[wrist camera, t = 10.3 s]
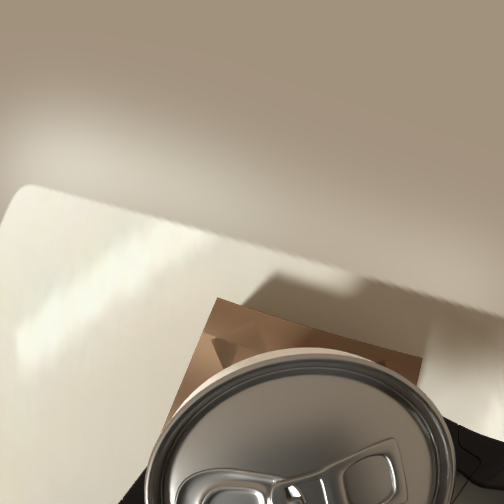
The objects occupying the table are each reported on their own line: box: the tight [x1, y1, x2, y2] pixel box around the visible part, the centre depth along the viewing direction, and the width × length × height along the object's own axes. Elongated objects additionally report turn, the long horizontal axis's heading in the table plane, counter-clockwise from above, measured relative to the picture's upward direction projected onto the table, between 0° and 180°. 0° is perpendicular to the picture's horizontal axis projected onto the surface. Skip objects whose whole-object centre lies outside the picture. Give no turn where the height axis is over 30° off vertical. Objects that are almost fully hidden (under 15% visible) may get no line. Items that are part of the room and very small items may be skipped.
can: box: [144, 348, 456, 504], centre depth 9 cm, size 6×6×12 cm
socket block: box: [160, 297, 422, 435], centre depth 14 cm, size 11×11×4 cm
